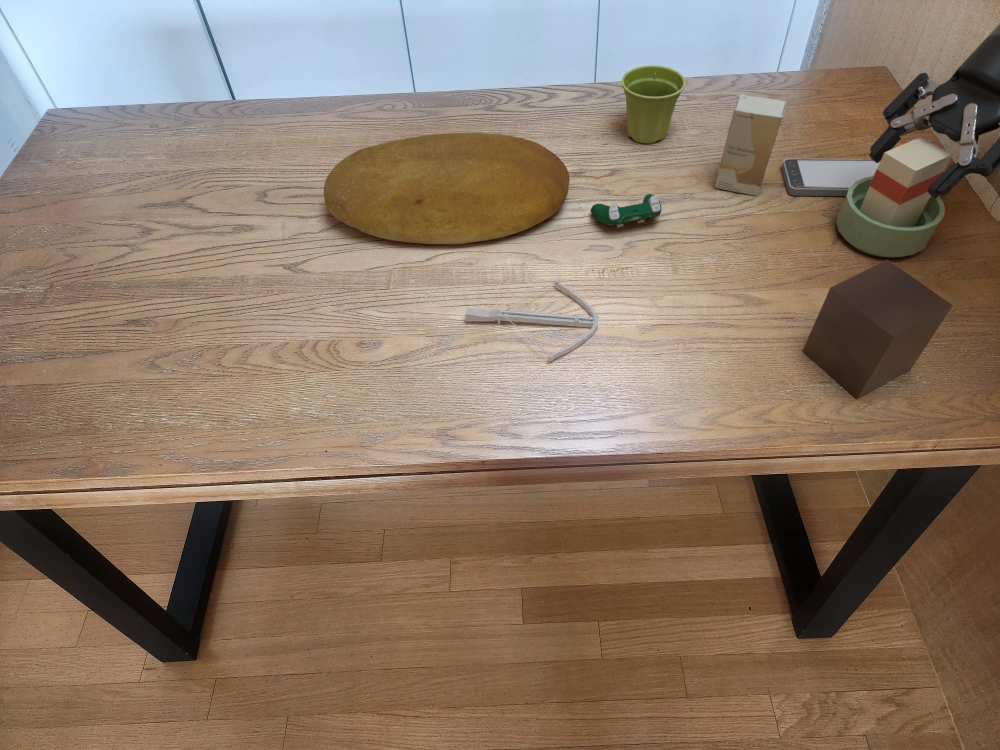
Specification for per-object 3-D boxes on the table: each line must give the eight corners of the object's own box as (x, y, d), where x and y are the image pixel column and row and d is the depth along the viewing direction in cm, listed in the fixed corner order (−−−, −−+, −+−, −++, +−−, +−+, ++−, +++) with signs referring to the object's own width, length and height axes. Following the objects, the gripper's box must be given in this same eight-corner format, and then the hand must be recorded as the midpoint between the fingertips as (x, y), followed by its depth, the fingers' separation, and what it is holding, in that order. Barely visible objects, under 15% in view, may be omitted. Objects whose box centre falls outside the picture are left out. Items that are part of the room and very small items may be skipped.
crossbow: (597, 292, 85) (599, 281, 83) (595, 369, 77) (597, 357, 75) (473, 283, 86) (473, 271, 84) (459, 357, 78) (458, 346, 76)
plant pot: (679, 119, 107) (687, 66, 100) (675, 152, 101) (683, 98, 95) (621, 116, 109) (625, 63, 102) (613, 148, 103) (618, 95, 96)
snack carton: (914, 229, 86) (953, 154, 77) (879, 245, 84) (915, 171, 76) (885, 210, 89) (920, 136, 80) (851, 226, 87) (883, 152, 79)
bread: (336, 181, 102) (318, 121, 95) (562, 162, 102) (563, 100, 94) (321, 260, 91) (299, 199, 83) (576, 239, 90) (578, 176, 82)
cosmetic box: (713, 189, 95) (731, 109, 86) (719, 172, 98) (737, 92, 88) (759, 197, 93) (783, 116, 84) (764, 179, 96) (787, 99, 86)
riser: (910, 369, 73) (953, 305, 65) (856, 399, 71) (893, 336, 63) (854, 324, 78) (887, 259, 70) (801, 351, 76) (830, 287, 68)
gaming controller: (593, 233, 94) (604, 228, 88) (588, 206, 93) (599, 199, 87) (655, 221, 94) (670, 215, 88) (651, 194, 94) (666, 186, 88)
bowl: (946, 241, 85) (965, 209, 81) (883, 273, 82) (899, 241, 79) (877, 197, 92) (891, 165, 88) (815, 225, 89) (827, 193, 85)
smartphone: (782, 158, 97) (891, 159, 95) (780, 164, 98) (888, 165, 96) (790, 188, 92) (905, 190, 90) (788, 195, 93) (902, 196, 91)
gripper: (956, 13, 75) (846, 136, 81) (1079, 62, 67) (946, 195, 73) (966, 47, 80) (862, 160, 86) (1081, 96, 72) (958, 218, 78)
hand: (901, 176), depth 80 cm, fingers open, 8 cm apart
